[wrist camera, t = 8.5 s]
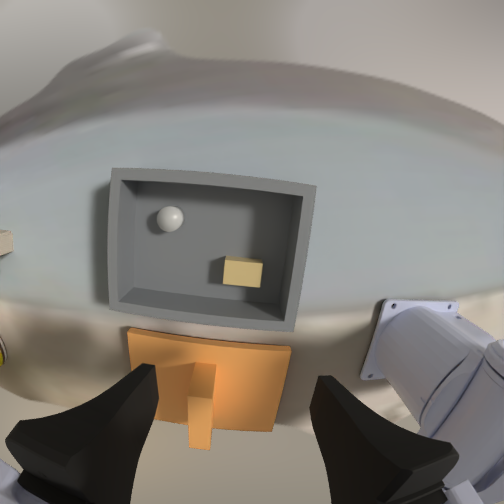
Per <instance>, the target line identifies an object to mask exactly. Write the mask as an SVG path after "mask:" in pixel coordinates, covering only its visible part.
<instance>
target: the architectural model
mask: <svg viewBox="0 0 504 504" xmlns="http://www.w3.org/2000/svg"><path fill="white" fill-rule="evenodd" d="M12 251H14V250H13V234H12V233H11V231H6V230H0V256H1V255H3V254H6V253H9V252H12Z"/></svg>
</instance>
